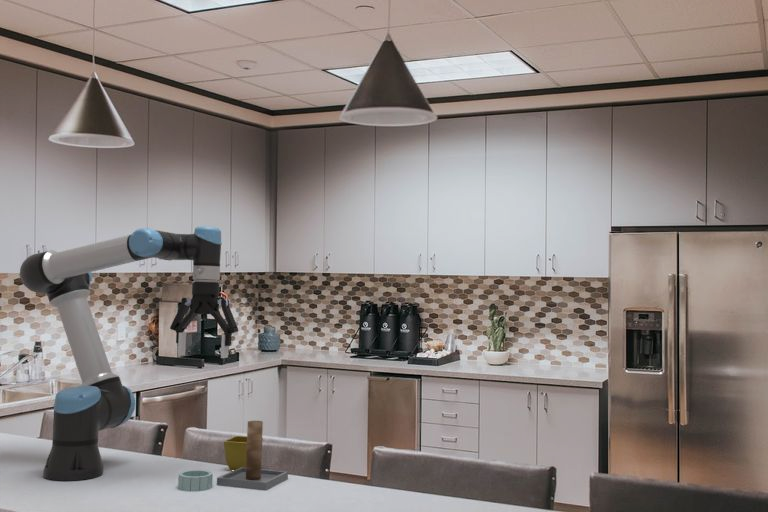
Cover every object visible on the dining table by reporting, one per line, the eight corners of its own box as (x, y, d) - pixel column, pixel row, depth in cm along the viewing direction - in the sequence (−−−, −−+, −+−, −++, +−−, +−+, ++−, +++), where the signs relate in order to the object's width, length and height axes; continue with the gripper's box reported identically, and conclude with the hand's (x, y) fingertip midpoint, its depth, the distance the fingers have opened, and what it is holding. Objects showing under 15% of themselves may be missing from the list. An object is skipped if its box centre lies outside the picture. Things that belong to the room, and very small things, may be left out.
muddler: (242, 479, 205) (245, 422, 206) (249, 476, 208) (251, 420, 209) (256, 480, 203) (258, 423, 204) (263, 477, 207) (265, 421, 208)
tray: (216, 487, 201) (217, 477, 201) (241, 476, 215) (241, 467, 215) (265, 492, 197) (265, 482, 197) (287, 481, 211) (288, 471, 211)
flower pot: (251, 475, 217) (252, 442, 217) (222, 472, 218) (223, 440, 219) (262, 468, 225) (263, 437, 226) (234, 466, 227) (235, 435, 227)
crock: (171, 491, 196) (172, 475, 196) (189, 484, 204) (189, 468, 204) (201, 494, 193) (201, 478, 194) (217, 487, 201) (218, 471, 202)
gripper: (160, 280, 218) (156, 355, 217) (239, 281, 211) (236, 359, 210) (174, 280, 226) (171, 353, 224) (251, 282, 218) (248, 358, 217)
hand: (202, 356), depth 217 cm, fingers open, 13 cm apart
